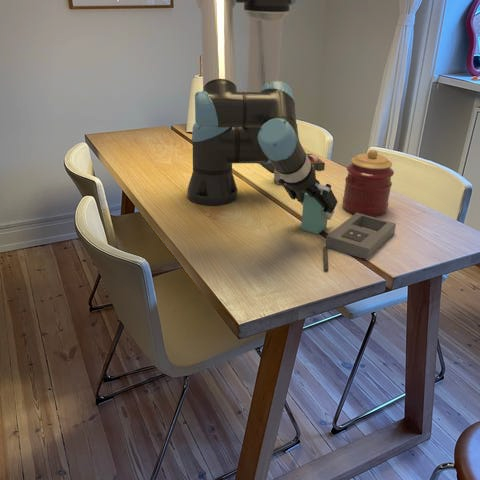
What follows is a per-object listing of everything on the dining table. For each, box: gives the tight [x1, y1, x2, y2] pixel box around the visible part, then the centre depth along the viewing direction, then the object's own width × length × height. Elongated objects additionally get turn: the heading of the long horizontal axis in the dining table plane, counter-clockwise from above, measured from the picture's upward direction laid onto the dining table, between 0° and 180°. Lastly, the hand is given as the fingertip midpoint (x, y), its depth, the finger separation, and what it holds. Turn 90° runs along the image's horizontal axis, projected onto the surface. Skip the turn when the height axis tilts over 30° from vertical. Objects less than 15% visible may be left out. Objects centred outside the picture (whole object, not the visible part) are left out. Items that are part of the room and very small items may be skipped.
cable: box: [322, 245, 329, 272], centre depth 115 cm, size 11×1×1 cm, turn 172°
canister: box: [342, 149, 395, 217], centre depth 140 cm, size 13×13×18 cm
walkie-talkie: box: [305, 152, 326, 171], centre depth 174 cm, size 9×4×20 cm
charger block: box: [300, 193, 328, 235], centre depth 128 cm, size 5×5×11 cm
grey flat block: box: [324, 213, 397, 260], centre depth 124 cm, size 18×11×3 cm, turn 144°
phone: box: [258, 163, 275, 174], centre depth 176 cm, size 7×1×15 cm
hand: (321, 212), depth 132 cm, fingers closed on charger block, 5 cm apart
